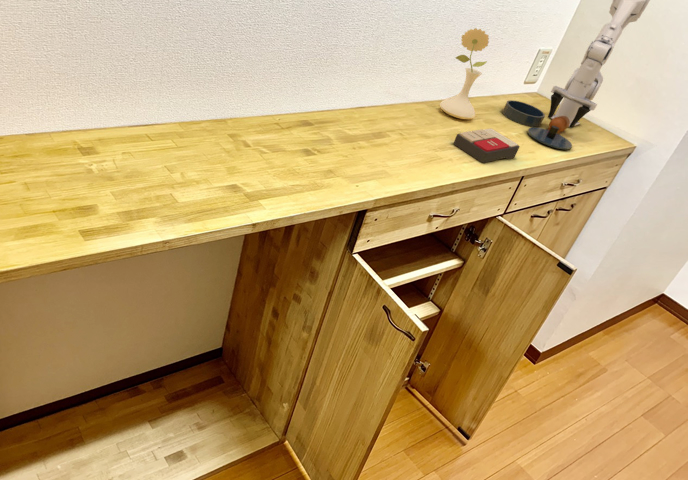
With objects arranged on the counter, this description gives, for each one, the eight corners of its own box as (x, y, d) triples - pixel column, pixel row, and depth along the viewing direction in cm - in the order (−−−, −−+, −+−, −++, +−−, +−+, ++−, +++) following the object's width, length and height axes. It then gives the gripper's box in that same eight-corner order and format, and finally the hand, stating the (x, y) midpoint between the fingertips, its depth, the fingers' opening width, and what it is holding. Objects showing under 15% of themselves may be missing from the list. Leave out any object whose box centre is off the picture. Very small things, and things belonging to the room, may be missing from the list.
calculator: (457, 131, 155) (491, 125, 163) (451, 145, 158) (485, 139, 166) (487, 150, 149) (521, 143, 157) (481, 165, 151) (515, 157, 159)
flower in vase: (477, 118, 180) (513, 37, 165) (466, 125, 172) (503, 41, 157) (440, 102, 184) (472, 22, 169) (427, 109, 176) (460, 25, 161)
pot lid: (537, 127, 187) (544, 115, 184) (576, 147, 180) (584, 134, 177) (519, 133, 178) (526, 120, 175) (560, 154, 171) (567, 140, 168)
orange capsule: (554, 125, 193) (561, 112, 190) (567, 132, 190) (574, 118, 188) (543, 129, 187) (551, 115, 184) (557, 135, 185) (564, 122, 182)
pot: (512, 108, 198) (517, 98, 196) (545, 124, 192) (551, 114, 190) (495, 112, 190) (500, 102, 188) (529, 129, 184) (535, 119, 182)
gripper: (556, 73, 179) (535, 114, 188) (600, 92, 173) (576, 133, 181) (565, 71, 184) (544, 111, 192) (607, 90, 177) (584, 130, 185)
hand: (560, 122), depth 187 cm, fingers open, 7 cm apart
